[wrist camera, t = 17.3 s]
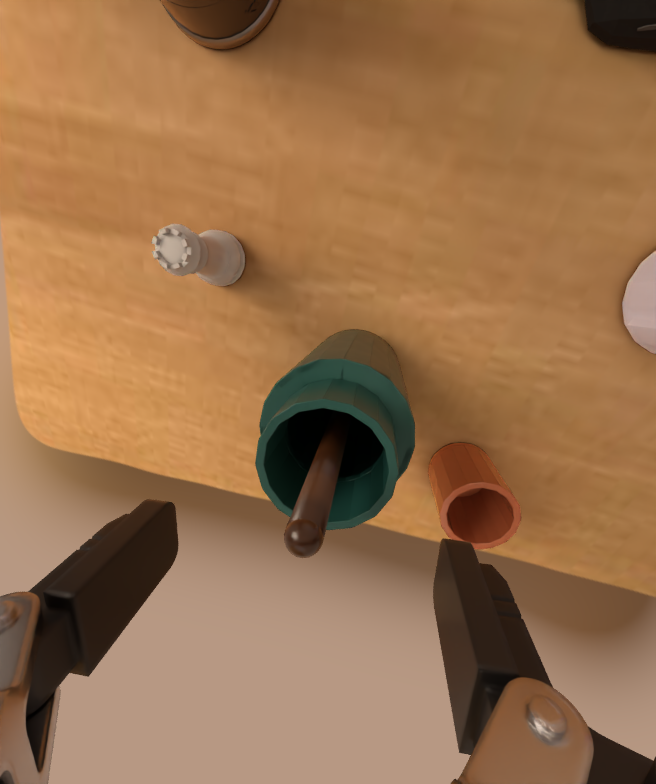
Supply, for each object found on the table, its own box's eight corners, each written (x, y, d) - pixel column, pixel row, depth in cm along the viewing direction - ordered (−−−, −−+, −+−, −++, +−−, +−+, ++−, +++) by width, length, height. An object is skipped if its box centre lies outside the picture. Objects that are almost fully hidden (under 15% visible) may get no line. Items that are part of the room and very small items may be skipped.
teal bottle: (294, 385, 33) (203, 484, 16) (341, 311, 30) (293, 335, 14) (366, 433, 33) (351, 579, 16) (418, 363, 30) (465, 450, 14)
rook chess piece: (203, 289, 31) (146, 288, 24) (193, 234, 30) (129, 216, 23) (251, 283, 31) (208, 280, 23) (242, 227, 29) (194, 205, 22)
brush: (334, 380, 31) (245, 554, 11) (350, 358, 30) (285, 498, 10) (357, 395, 31) (312, 597, 11) (373, 373, 30) (357, 544, 10)
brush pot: (415, 475, 33) (424, 522, 27) (454, 430, 32) (473, 468, 25) (464, 508, 34) (485, 561, 27) (505, 465, 32) (538, 511, 25)
